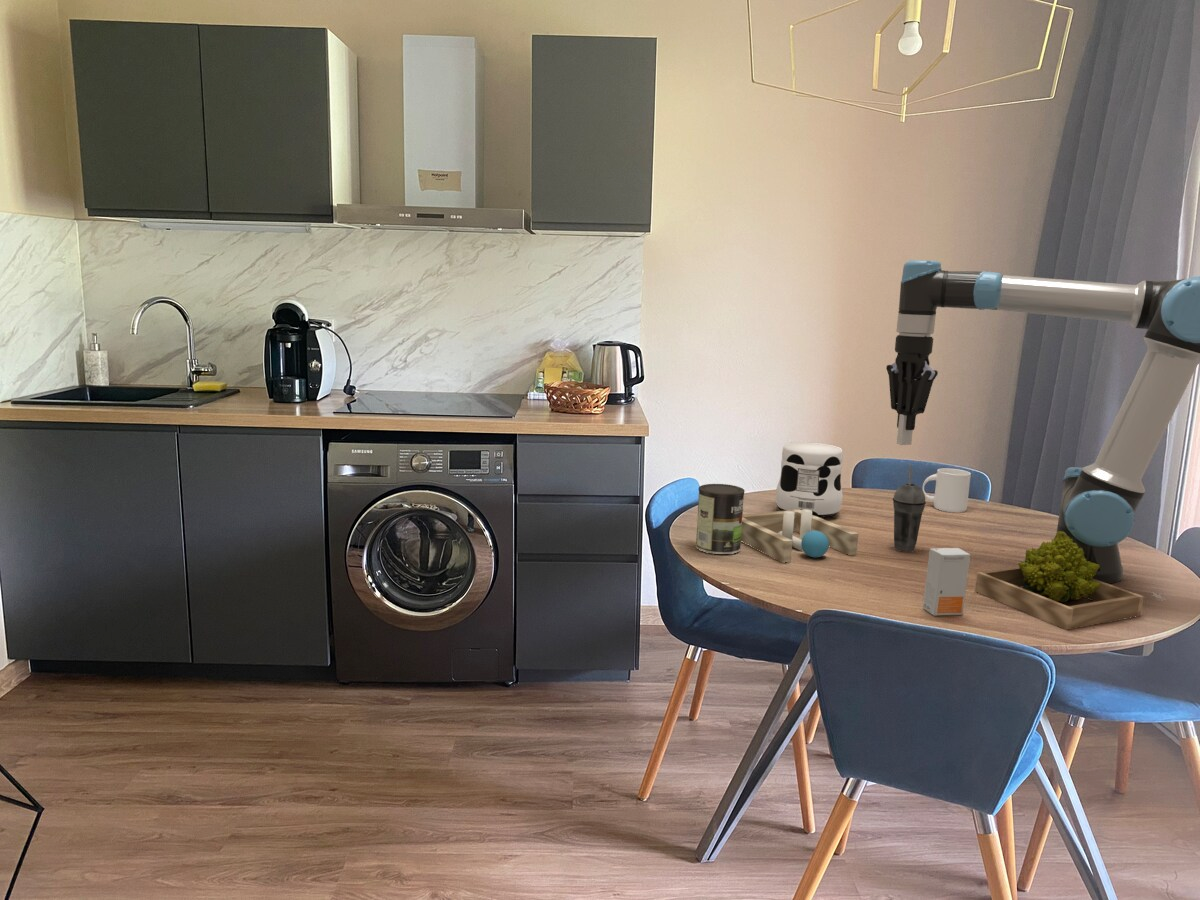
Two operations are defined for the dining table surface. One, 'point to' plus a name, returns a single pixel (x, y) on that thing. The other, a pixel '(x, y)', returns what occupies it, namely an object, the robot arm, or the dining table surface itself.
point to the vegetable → (1059, 570)
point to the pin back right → (805, 522)
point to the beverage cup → (907, 515)
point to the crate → (1106, 608)
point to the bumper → (766, 525)
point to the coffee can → (719, 518)
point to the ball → (815, 544)
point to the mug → (950, 489)
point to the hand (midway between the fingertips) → (903, 444)
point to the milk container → (810, 478)
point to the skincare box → (946, 581)
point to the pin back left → (788, 524)
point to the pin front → (795, 542)
